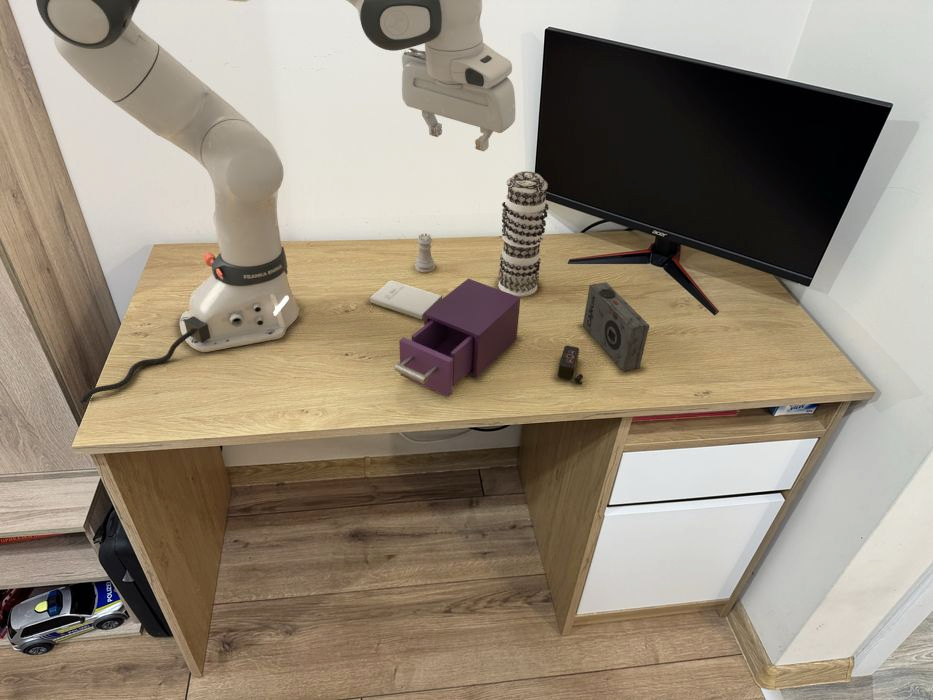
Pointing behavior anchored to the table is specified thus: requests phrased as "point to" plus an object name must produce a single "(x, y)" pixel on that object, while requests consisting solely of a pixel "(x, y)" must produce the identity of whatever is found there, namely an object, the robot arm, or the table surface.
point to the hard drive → (405, 299)
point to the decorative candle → (522, 233)
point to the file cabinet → (480, 319)
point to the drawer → (436, 357)
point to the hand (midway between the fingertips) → (458, 141)
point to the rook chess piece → (424, 255)
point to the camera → (615, 326)
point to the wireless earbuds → (569, 364)
